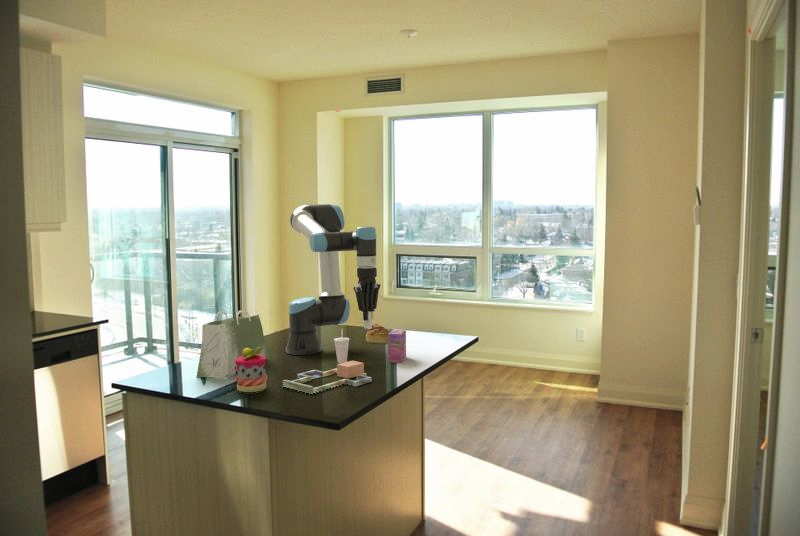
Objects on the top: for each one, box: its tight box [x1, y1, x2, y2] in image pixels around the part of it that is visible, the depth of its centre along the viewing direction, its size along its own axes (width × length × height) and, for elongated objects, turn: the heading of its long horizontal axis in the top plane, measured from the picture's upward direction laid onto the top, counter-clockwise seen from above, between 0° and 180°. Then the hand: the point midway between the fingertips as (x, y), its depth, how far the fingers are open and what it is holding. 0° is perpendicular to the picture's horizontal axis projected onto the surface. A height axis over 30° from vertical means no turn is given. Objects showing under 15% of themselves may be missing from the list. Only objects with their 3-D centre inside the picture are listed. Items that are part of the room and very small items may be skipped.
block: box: [336, 360, 365, 379], centre depth 229 cm, size 6×8×4 cm
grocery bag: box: [196, 309, 267, 379], centre depth 242 cm, size 32×14×23 cm, turn 166°
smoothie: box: [333, 328, 350, 364], centre depth 248 cm, size 6×6×14 cm
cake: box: [235, 347, 268, 393], centre depth 211 cm, size 10×11×15 cm
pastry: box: [365, 323, 392, 345], centre depth 291 cm, size 13×15×8 cm
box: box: [387, 328, 407, 364], centre depth 251 cm, size 10×6×12 cm, turn 168°
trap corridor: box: [282, 367, 373, 395], centre depth 219 cm, size 27×25×2 cm
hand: (368, 328), depth 235 cm, fingers closed
